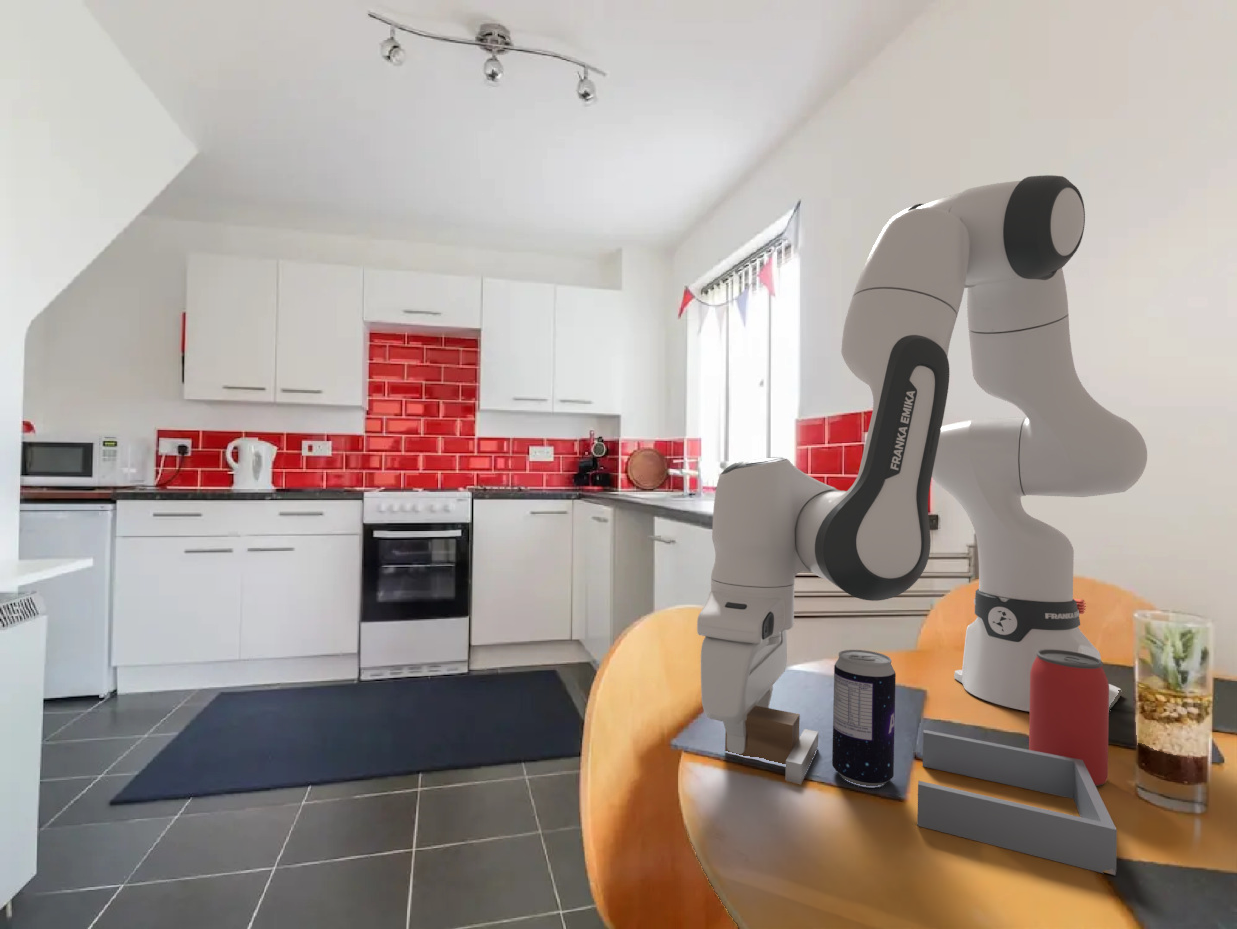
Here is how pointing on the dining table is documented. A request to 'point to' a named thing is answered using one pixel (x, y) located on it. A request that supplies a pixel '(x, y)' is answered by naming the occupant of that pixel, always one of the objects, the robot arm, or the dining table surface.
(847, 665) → the beverage can
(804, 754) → the brown block
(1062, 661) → the beer can
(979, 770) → the box
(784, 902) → the dining table surface
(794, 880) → the dining table surface
